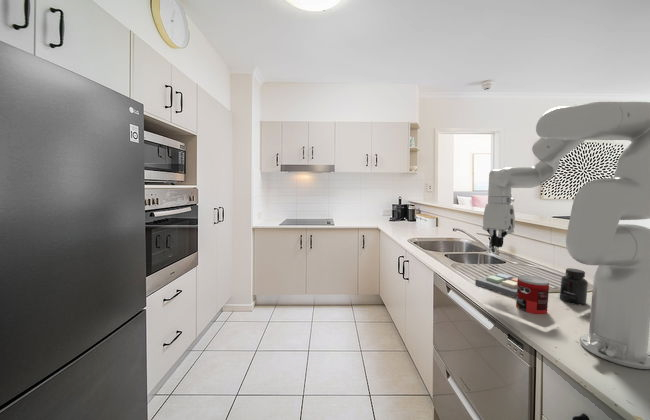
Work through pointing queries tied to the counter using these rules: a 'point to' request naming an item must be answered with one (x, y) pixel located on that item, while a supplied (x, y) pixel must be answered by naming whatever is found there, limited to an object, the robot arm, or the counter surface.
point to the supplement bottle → (574, 287)
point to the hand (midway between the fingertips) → (496, 246)
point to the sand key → (510, 284)
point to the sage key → (495, 279)
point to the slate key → (505, 276)
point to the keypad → (496, 286)
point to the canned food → (532, 294)
